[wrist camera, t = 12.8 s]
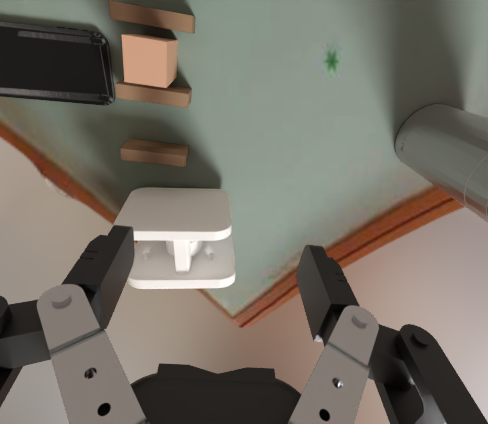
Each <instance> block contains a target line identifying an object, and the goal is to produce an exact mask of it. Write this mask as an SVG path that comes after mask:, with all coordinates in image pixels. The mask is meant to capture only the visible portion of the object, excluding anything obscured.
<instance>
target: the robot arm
mask: <svg viewBox="0 0 488 424" xmlns="http://www.w3.org/2000/svg"><path fill="white" fill-rule="evenodd" d="M395 149H396V154H397V156H398V158H399V159H400V160H401V161H402V162H403V163H404V164H406V165H407V166H409V167H410V168H411V169H413V170H414V171H415V172H417V173H418V174H419V175H421V176H422V177H424V178H425V179H427V180H428V181H429V182H431V183H432V184H434V185H435V186H436V187H438V188H439V189H441V190H442V191H443V192H445V193H446V194H448V195H449V196H451V197H452V198H453V199H455V200H456V201H458V202H459V203H460V204H462V205H463V206H465V207H466V208H468V209H469V210H470V211H472V212H473V213H475V214H476V215H478V216H479V217H480V218H482V219H483V220H485V221H486V222H488V118H485V117H482V116H479V115H476V114H473V113H469V112H467V111H464V110H461V109H457V108H454V107H451V106H448V105H443V104H433V105H429V106H426V107H424V108H422V109H420V110H418V111H417V112H415V113H414V114H412V115H411V116H410V117H409V118H408V119H407V120H406V121H405V123H404V124H403V125H402V127H401V129H400V131H399V132H398V135H397V138H396V143H395ZM134 256H135V251H134V231H133V227H130V226H120V225H114V226H113V227H112V229H111V231H110V232H109V234H108V236H106V235H100V236H98V237H97V238H95V239H94V240H92V241H91V242H90V243H89V244H88V246H87V248H86V249H85V251H84V252H83V253H82V255H81V256H80V259H78V261H77V262H76V264H75V265H74V267H73V268H72V270H71V271H70V273H69V274H68V275H67V277H66V279H65V280H64V281H63V283H62V284H61V285H59V286H56V287H53V288H51V289H49V290H48V291H46V292H45V293H43V294H42V296H40V298H39V299H38V300H34V301H28V302H22V303H16V304H10V305H8V303H7V300H6V299H5V298H4V297H2V296H0V407H1V405H2V403H3V401H4V400H5V398H6V396H7V394H8V392H9V391H10V389H11V387H12V385H13V383H14V382H15V380H16V378H17V376H18V374H19V373H20V371H21V369H22V367H23V366H25V365H29V364H33V363H37V362H41V361H46V360H50V359H51V360H52V364H53V367H54V371H55V375H56V378H57V382H58V385H59V389H60V392H61V396H62V399H63V403H64V406H65V410H66V413H67V417H68V420H69V424H354V421H355V418H356V414H357V411H358V408H359V404H360V401H361V398H362V394H363V391H364V387H365V384H366V381H367V378H370V379H372V380H374V381H375V384H376V387H377V389H378V392H379V395H380V397H381V400H382V403H383V406H384V408H385V411H386V413H387V416H388V419H389V422H390V424H488V422H487V421H486V419H485V417H484V416H483V414H482V413H481V411H480V409H479V408H478V406H477V405H476V403H475V402H474V400H473V398H472V397H471V395H470V394H469V392H468V390H467V389H466V387H465V385H464V384H463V382H462V381H461V379H460V377H459V376H458V374H457V373H456V371H455V369H454V368H453V366H452V365H451V363H450V362H449V360H448V358H447V357H446V355H445V354H444V352H443V350H442V349H441V347H440V346H439V344H438V342H437V341H436V340H435V338H434V337H433V336H432V335H431V334H430V333H428V332H427V331H426V330H424V329H422V328H421V327H418V326H415V325H410V324H408V325H404V326H403V327H402V328H401V329H400V331H397V330H394V329H391V328H388V327H385V326H382V325H380V324H378V322H377V320H376V318H375V317H374V316H373V315H372V314H371V313H370V312H369V311H367V310H366V309H364V308H362V307H360V306H359V304H358V302H357V300H356V298H355V296H354V294H353V292H352V290H351V287H350V285H349V283H347V279H346V277H345V276H344V273H343V271H342V269H341V267H340V265H339V264H338V263H337V262H336V261H335V260H334V259H333V258H329V257H327V255H326V252H325V250H324V248H323V247H322V246H314V245H306V246H305V248H304V250H303V253H302V256H301V259H300V262H299V265H298V268H297V274H296V278H297V284H298V287H299V291H300V294H301V297H302V301H303V305H304V308H305V312H306V316H307V319H308V323H309V326H310V330H311V334H312V337H313V341H314V342H323V343H324V346H325V348H324V350H323V352H322V354H321V356H320V358H319V360H318V362H317V364H316V366H315V368H314V370H313V372H312V374H311V376H310V378H309V380H308V382H307V384H306V386H305V388H304V390H303V392H302V394H300V393H299V392H298V391H297V390H296V389H294V388H293V387H292V386H290V385H289V384H287V383H285V382H283V381H281V380H279V379H276V378H275V372H274V369H267V368H242V369H238V370H234V371H229V372H225V373H220V374H216V373H213V372H210V371H206V370H203V369H200V368H197V367H193V366H190V365H179V364H159V367H158V372H157V373H155V374H151V375H148V376H145V377H143V378H141V379H139V380H137V381H135V382H134V383H132V384H130V383H129V381H128V379H127V377H126V374H125V372H124V370H123V368H122V366H121V364H120V361H119V360H118V357H117V355H116V353H115V351H114V348H113V346H112V344H111V342H110V340H109V338H108V335H107V333H106V331H105V330H104V329H106V328H107V326H108V324H109V321H110V319H111V317H112V314H113V312H114V309H115V307H116V304H117V302H118V300H119V297H120V295H121V293H122V290H123V288H124V286H125V283H126V281H127V278H128V276H129V274H130V271H131V269H132V266H133V263H134ZM101 328H102V329H101ZM419 394H420V395H419ZM420 396H421V397H420ZM421 398H422V399H421Z"/></svg>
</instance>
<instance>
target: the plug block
mask: <svg viewBox="0 0 488 424" xmlns="http://www.w3.org/2000/svg"><path fill="white" fill-rule="evenodd" d="M122 49H123V65H124V82H129V83H135V84H142V85H149V86H156V87H163V88H167V87H168V86H169V85H170V84H171V83H172V82H173V81H174V80H175V79H176V77H177V40H174V39H168V38H162V37H156V36H150V35H144V34H122Z"/></svg>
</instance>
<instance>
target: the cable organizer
mask: <svg viewBox="0 0 488 424" xmlns="http://www.w3.org/2000/svg"><path fill="white" fill-rule="evenodd" d="M114 225H120V226H130V227H133V231H134V240H138V243H137V245H136V248H135V250H134V251H135V256H134V263H133V266H132V269H131V271H130V274H129V276H128V278H127V280H128V283H129V285H131V286H132V287H135V288H139V289H162V288H163V289H171V288H223V287H227V286H229V285H231V284H232V283H233V282H234V280H235V256H234V241H233V237H232V236H231V235H230V234H231V226H232V222H231V206H230V194H229V193H228V192H227V191H225V190H221V189H205V188H156V187H146V188H139V189H136V190H133V191H132V192H131V193H130V195H129V197H128V198H127V200H126V202H125V204H124V206H123V207H122V209H121V211H120V213H119V215H118V216H117V218H116V220H115V222H114Z"/></svg>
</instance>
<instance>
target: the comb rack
mask: <svg viewBox="0 0 488 424" xmlns="http://www.w3.org/2000/svg"><path fill="white" fill-rule="evenodd" d="M109 8H110V19H115V20H121V21H126V22H132V23H138V24H143V25H149V26H155V27H160V28H166V29H171V30H177V31H183V32H188V33H195V17H194V16H191V15H186V14H181V13H175V12H170V11H164V10H159V9H154V8H148V7H143V6H138V5H132V4H127V3H121V2H116V1H111V0H109ZM115 87H116V98H122V99H129V100H136V101H143V102H150V103H157V104H165V105H172V106H179V107H186V108H188V107H189V104H190V102H191V88H185V87H178V86H171V85H169V86H168V87H167V88H163V87H156V86H149V85H142V84H135V83H129V82H124V79H123V80H121V81H119V82H117V83H115ZM120 153H121V160H127V161H136V162H145V163H154V164H163V165H172V166H181V167H185V165H186V162H187V158H188V146H187V145H178V144H170V143H162V142H154V141H146V140H137V139H128V140H127V141H126V142H125V143H124V145H123V146H122V147H121V148H120Z"/></svg>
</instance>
